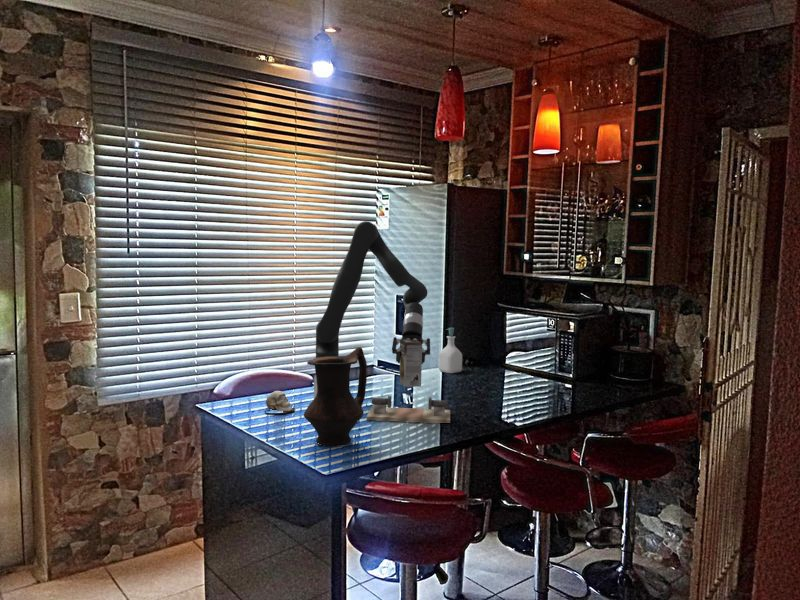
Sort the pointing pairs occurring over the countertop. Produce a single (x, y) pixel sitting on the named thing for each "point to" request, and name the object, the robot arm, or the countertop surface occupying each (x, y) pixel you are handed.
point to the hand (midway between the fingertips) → (410, 362)
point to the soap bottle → (450, 356)
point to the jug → (336, 398)
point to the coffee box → (410, 363)
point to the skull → (278, 402)
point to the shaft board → (409, 412)
